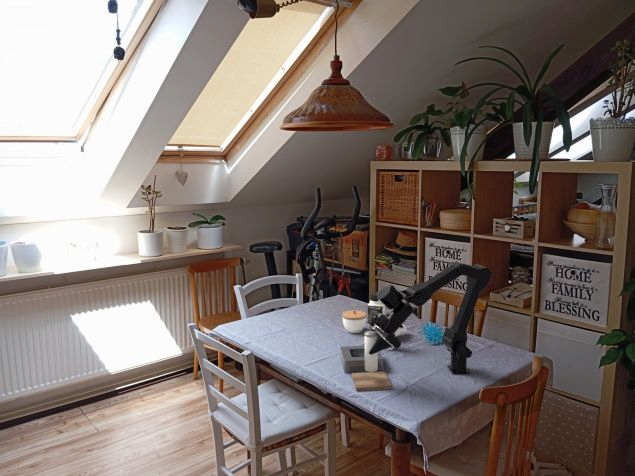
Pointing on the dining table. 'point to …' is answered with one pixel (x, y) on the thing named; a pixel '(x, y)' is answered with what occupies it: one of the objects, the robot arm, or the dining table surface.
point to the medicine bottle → (375, 304)
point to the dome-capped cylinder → (370, 340)
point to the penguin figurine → (401, 331)
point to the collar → (356, 359)
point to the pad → (371, 381)
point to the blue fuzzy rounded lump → (433, 333)
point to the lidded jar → (354, 320)
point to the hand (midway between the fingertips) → (367, 351)
